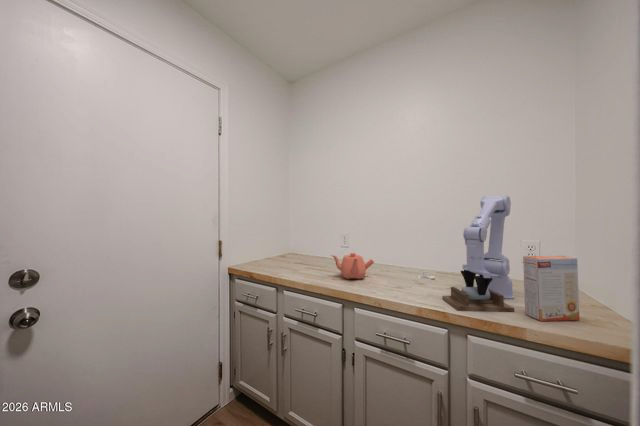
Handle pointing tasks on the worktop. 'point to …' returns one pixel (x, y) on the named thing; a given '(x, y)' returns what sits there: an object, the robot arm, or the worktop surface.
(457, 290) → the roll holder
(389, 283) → the worktop surface
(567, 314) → the cracker box
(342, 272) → the teapot
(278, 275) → the worktop surface
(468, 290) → the roll
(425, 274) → the teacup and saucer
